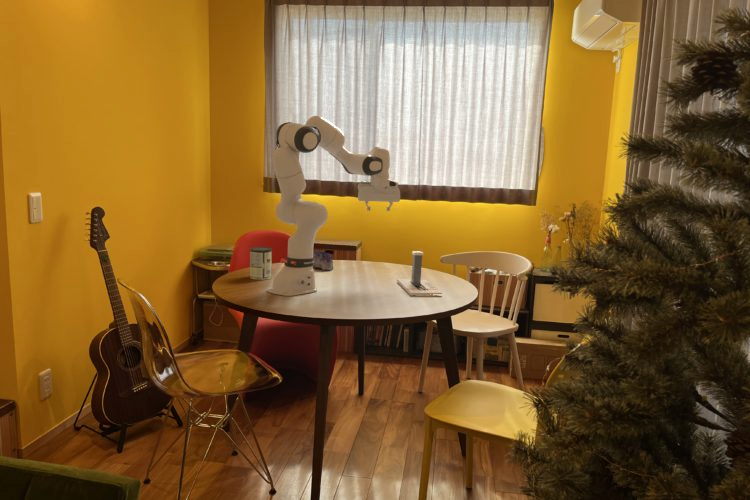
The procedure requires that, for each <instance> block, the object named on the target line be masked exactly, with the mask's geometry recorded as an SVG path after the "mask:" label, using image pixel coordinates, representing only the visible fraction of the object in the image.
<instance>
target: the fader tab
mask: <svg viewBox="0 0 750 500" xmlns="http://www.w3.org/2000/svg"><path fill="white" fill-rule="evenodd" d="M411 254H412V264H411V279H412V280H411V283H412V284H413V285H414V286H420V283H421V279H422V267H423V266H422V265H423V264H422V263H423V256H424V252H423V251H420V250H417V251H416V250H412V251H411Z"/></svg>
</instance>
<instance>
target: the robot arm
mask: <svg viewBox="0 0 750 500" xmlns="http://www.w3.org/2000/svg"><path fill="white" fill-rule="evenodd" d="M275 139H276V142H275V144H276V149H275V150H274V151H273V153H272V155H271V156H272V165H273V170H274V173H275V176H276V180H277V182H278V186H279V190H280V201H279V202H278V204H277V205H276V207H275V215H276V218H277V220H279V221H280V222H282V223H285V224H287V225H293V226H296V230H295V232H294V234H292V235H290V236H289V238H288V240H287V256H286V258H281V259H280V263H281V264H284V266H283V267H282V268H281V269H280V270H279V272H278V273H276V274H275V276H274V277H273V279H272V286H271V287H267V289H266V292H267V293H270V294H274V295H278V296H285V297H286V296H287V297H292V296H297V295H303V294H308V293H316V292H317V288H316V280H315V279H316V278H315V277H316V276H315V270H314V267H313V265H314V257H313V252H314V245H315V244H314V243H315V239H316V235H317V233H318V231H319V230H320V228H321V227H322V226H324V225H326V222H327V221H328V215H329V213H328V210H327V209H328V208H327V207H326V206H325V205H324V204H322V203H319V202H316V201H309V200H303V198H302V194H303V193H304V192H305V190H306V187H307V181H306V179H305V175H304V171H303V168H302V165H301V162H300V153H303V154H308V153H312V152H314V151H315V150H316V149H317V148H318V146H319V148H321V149H323V150H324V151H326V152H328V154H330V155H331V156H332V157H333V158H334V159H335V160H337V161H338V162H339V163H340V164H341V165H342V167H343V169H344V171H345V172H346V173H347V174H350V175H359V176H366V177H370V178H369V179H370V180H369V181H360V182H358V183H357V191H358V192H357V200H358V201H359V202H364V204H365V206H366V210H367V211H371V206H370V205H369V202H381V203H382V202H385V203H387V202H388V203H389V205H388V206H387V207H386V212H390V211H391V207H392V206H393V203H399V202H400V201H401V191H400V188H399V182H398V181H397V180H394V179H391V178H390V171H389V170H390V166H391V161H390V160H391V159H390V158H391V157H390V150H388V149H387V148H386V147H380V146H373V148H372V149H371V150H370V151H369V152H367V153H364V154H363V153H356V152H353V151H352V152H351V151H349V150H348V149H346V148H345V147H344V145H345V142H346V137H345V134H344V132H343V131H342V130H341V129H340V128H339V127H337V126H336V125H335V124H334V123H333V122H331V121H329V120H327V119H326V118H324V117H322V116H319V115H313V116H310V117H309V118H308V120H307V121H305V124H301V123H297V122H290V121H289V122H284V123H281V124H280V125H278V127H277V130H276V135H275Z"/></svg>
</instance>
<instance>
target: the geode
mask: <svg viewBox="0 0 750 500" xmlns="http://www.w3.org/2000/svg"><path fill="white" fill-rule="evenodd" d="M313 257H314V265H313V269H319V270H322V271H323V272H332V271H333V270H334V261H333V254H330V253H329V252H325V251H323V250H319V249H316V250H315V251H313Z"/></svg>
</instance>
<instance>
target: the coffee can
mask: <svg viewBox="0 0 750 500" xmlns="http://www.w3.org/2000/svg"><path fill="white" fill-rule="evenodd" d="M272 253H273V248H271V247H270V246H269V247H268V246H254V247H250V248H249V279H252V280H256V281H258V280H259V281H266V280H270V279H272V265H273V264H272V263H273V262H272V260H273V259H272V258H273V257H272V255H273V254H272Z"/></svg>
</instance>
